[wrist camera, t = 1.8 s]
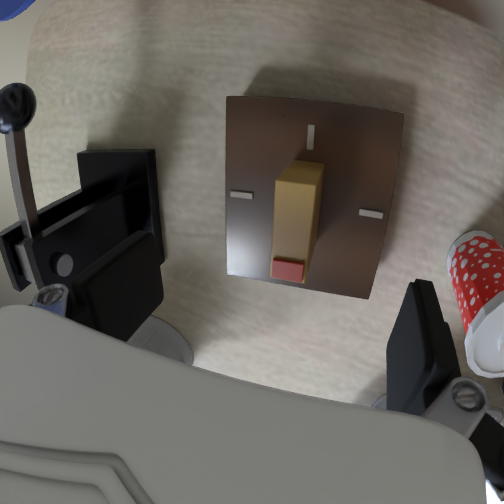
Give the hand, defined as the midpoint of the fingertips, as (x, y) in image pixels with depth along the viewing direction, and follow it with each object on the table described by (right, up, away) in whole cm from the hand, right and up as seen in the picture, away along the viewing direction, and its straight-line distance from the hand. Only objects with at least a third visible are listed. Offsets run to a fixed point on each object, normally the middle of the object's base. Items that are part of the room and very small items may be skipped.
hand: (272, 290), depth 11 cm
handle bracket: (-12, +6, +15) cm, 20 cm away
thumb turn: (+2, +4, +7) cm, 9 cm away
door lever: (-14, +6, +6) cm, 17 cm away
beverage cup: (+16, +1, +8) cm, 18 cm away
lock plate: (+3, +6, +10) cm, 12 cm away
